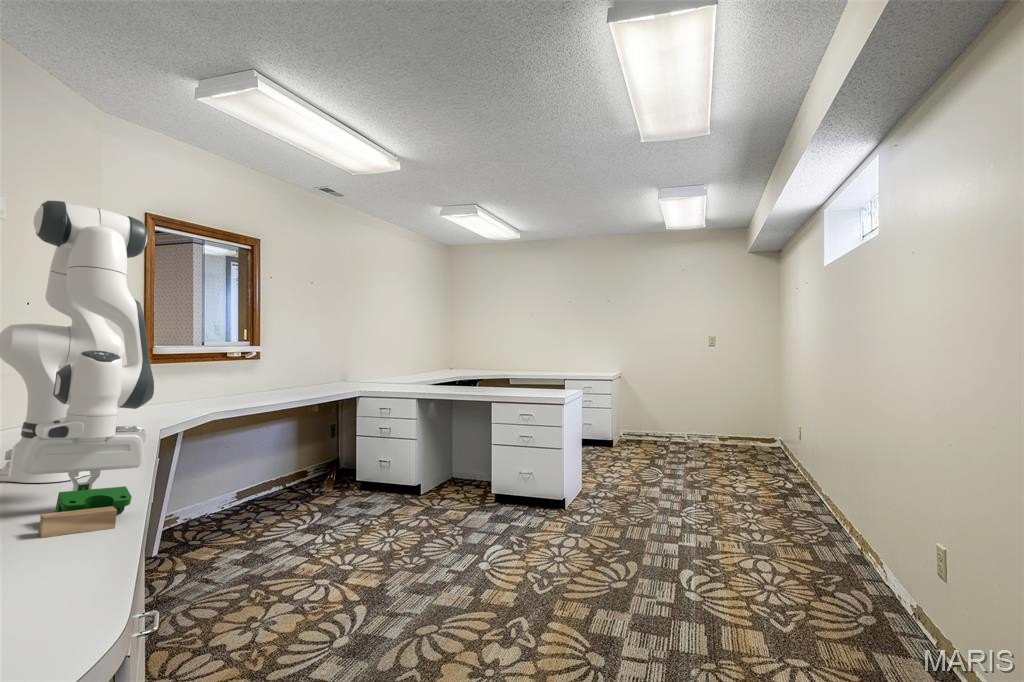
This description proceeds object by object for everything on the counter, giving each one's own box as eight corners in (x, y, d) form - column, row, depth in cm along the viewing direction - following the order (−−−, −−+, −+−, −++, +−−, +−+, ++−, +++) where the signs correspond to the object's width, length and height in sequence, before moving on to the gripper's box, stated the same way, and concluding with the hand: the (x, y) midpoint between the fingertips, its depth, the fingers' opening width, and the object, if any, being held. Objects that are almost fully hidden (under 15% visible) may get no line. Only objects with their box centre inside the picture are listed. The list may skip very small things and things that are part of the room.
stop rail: (38, 533, 99) (40, 513, 99) (110, 523, 107) (112, 506, 107) (41, 537, 97) (44, 518, 97) (114, 527, 105) (117, 509, 105)
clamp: (68, 547, 104) (52, 510, 101) (62, 532, 108) (47, 496, 105) (139, 517, 112) (127, 481, 109) (131, 503, 116) (119, 469, 113)
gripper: (143, 423, 124) (134, 483, 124) (26, 425, 109) (15, 493, 108) (151, 428, 120) (143, 489, 120) (31, 430, 105) (20, 501, 104)
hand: (81, 491), depth 114 cm, fingers closed
